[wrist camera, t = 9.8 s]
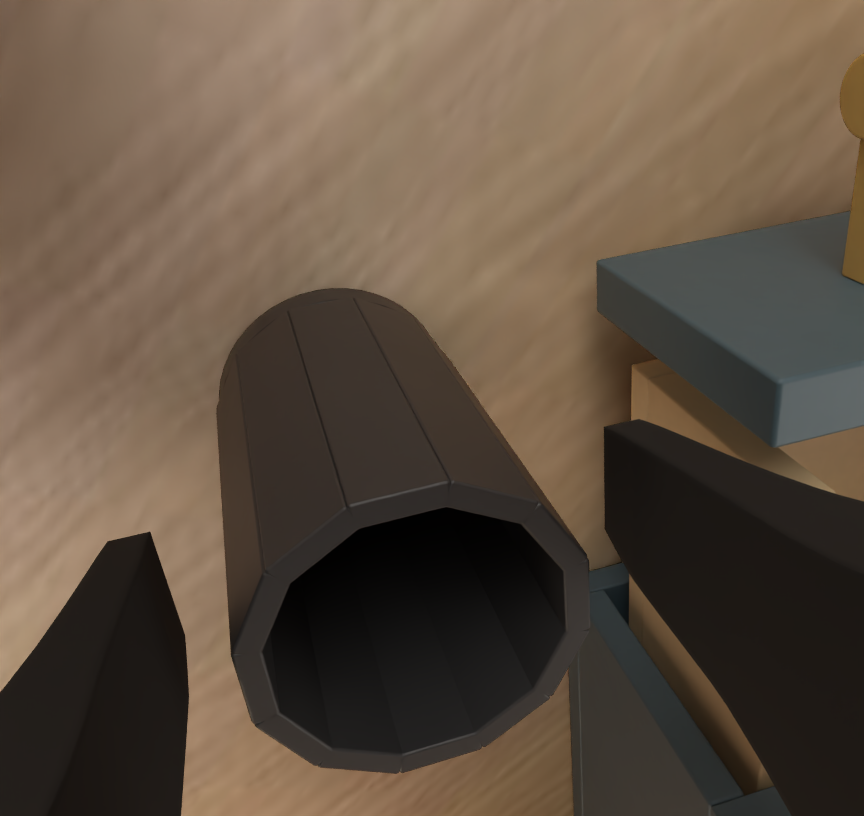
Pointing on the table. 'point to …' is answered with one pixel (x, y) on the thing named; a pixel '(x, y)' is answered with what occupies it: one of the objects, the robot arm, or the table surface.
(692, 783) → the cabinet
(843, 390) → the drawer
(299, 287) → the table surface
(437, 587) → the black cup
